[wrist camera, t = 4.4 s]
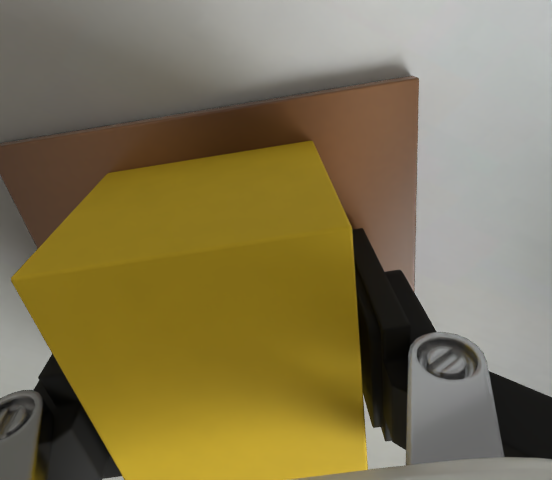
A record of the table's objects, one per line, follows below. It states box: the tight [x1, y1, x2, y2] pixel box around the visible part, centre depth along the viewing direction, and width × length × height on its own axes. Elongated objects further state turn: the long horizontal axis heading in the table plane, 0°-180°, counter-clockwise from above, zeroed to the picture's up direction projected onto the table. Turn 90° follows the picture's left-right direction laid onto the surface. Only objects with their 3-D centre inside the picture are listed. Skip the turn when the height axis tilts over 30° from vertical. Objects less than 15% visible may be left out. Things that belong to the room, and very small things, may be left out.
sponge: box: [11, 141, 368, 480], centre depth 10 cm, size 5×8×4 cm, turn 9°
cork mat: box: [0, 76, 419, 291], centre depth 12 cm, size 10×10×1 cm
